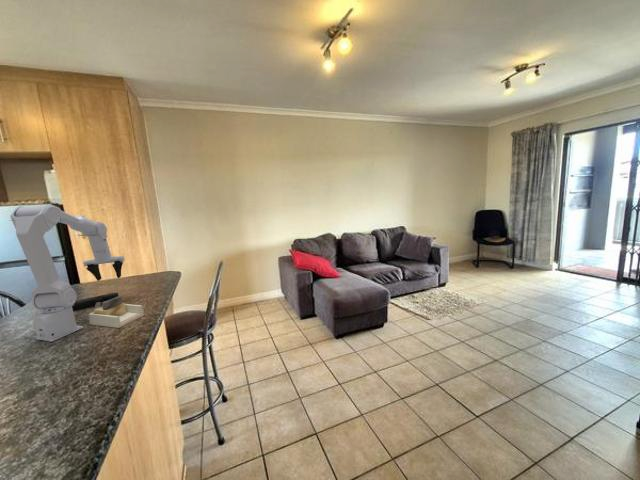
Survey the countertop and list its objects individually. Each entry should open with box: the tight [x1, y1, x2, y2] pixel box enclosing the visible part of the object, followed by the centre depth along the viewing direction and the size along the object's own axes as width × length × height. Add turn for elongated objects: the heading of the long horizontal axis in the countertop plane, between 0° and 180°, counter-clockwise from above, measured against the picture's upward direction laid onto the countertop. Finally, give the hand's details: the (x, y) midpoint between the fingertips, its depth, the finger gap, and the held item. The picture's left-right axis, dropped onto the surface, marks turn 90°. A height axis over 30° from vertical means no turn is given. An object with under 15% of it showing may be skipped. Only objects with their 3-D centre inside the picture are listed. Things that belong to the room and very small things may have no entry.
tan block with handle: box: [93, 296, 127, 316], centre depth 101 cm, size 7×6×7 cm
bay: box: [87, 303, 145, 329], centre depth 101 cm, size 10×14×4 cm
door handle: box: [72, 292, 120, 312], centre depth 114 cm, size 3×20×16 cm
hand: (109, 278), depth 119 cm, fingers open, 7 cm apart
